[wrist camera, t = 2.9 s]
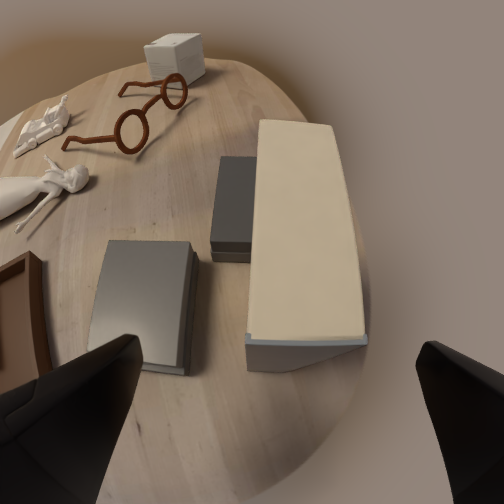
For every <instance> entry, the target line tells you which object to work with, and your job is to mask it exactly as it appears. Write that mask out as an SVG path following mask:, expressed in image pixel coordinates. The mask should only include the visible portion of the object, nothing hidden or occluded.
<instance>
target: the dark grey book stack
mask: <svg viewBox="0 0 504 504" xmlns="http://www.w3.org/2000/svg"><path fill="white" fill-rule="evenodd" d="M256 167H257V157H234V156H221V159H220V166H219V173H218V180H217V187H216V195H215V202H214V210H213V218H212V227H211V235H210V244H211V251H210V252H211V256H212V260H213V261H219V262H251V250H252V233H253V217H254V200H255V183H256Z"/></svg>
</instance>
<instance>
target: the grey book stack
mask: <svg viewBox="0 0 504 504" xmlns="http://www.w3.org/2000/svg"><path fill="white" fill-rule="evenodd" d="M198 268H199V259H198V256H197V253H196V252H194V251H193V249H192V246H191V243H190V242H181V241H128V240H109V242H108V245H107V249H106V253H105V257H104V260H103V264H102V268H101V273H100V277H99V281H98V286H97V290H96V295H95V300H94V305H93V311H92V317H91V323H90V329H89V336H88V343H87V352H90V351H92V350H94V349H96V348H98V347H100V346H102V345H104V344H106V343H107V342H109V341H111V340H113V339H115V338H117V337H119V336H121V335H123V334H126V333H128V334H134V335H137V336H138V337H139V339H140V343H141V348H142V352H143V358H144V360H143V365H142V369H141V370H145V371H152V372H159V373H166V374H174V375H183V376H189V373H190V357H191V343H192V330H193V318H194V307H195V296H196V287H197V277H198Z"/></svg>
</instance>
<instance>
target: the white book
mask: <svg viewBox="0 0 504 504" xmlns="http://www.w3.org/2000/svg"><path fill="white" fill-rule="evenodd" d="M367 344H368V340H367V334H365V321H364V307H363V295H362V285H361V276H360V267H359V259H358V251H357V244H356V237H355V231H354V225H353V219H352V213H351V208H350V202H349V197H348V192H347V187H346V182H345V178H344V173H343V168H342V164H341V160H340V155H339V152H338V147H337V143H336V139H335V136H334V132H333V128H332V127H331V126H329V125H322V124H313V123H305V122H294V121H283V120H268V119H261V120H260V121H259V133H258V150H257V167H256V183H255V200H254V217H253V233H252V250H251V267H250V284H249V301H248V318H247V333H246V334H245V350H246V362H247V371H258V372H288V371H292V370H295V369H298V368H302V367H305V366H308V365H311V364H314V363H318V362H321V361H324V360H327V359H330V358H332V357H335V356H338V355H341V354H344V353H346V352H349V351H352V350H354V349H357V348H360V347H362V346H365V345H367Z"/></svg>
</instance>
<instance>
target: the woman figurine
mask: <svg viewBox="0 0 504 504" xmlns="http://www.w3.org/2000/svg"><path fill="white" fill-rule="evenodd" d="M44 155H45V154H44ZM45 156H46V157H44V156H43V158H45V159H46V160H47V161H48V162H49V163H50V165H51V167H52V170H51V169H47V170H45V171H44V172H49V173H47V174H46V175H44V176H42V177H41V178H39V177H37V176H24V177H2V178H0V220H2V219H3V218H5V217H7V216H9V215H11V214H13V213H15V212H17V211H18V210H20V209H21V208H23V207H25V206H26V205H28V204H30V203H31V202H33V201H34V200H35V199H36V197H37V196H38V194H39V193H40V192H47V193H49V194H48V196H47V197H46V198H45V199H44V200H42V201H41V202H40V203H39V204H38V205H37V207H36V208H35V209H34V210H33V212H32V213H31V214H30V215H29V216H28V217H27V218H26V219H25V220H24V221H22V222H19V223H17V224H16V225H15V226H17V225H19V226H18V228H17V229H16V230H15V231H14V232H15V234H17V233H18V232H20V231H22V229H23V228H24V226H25V225H26V224H27V223H28V222H29V221H30V220H31V219H32V218H33V217H34V216H35V215H36V214H37V213H38V212H39V211H40V210H41V209H42V208H43V207H44V206H45V205H46V204H47V203H48V202H50V201H51V200H52V199H54V198H55V197H56V196H57V197H58V196H59V194H60V193H61V191H62V190H63V188H64V189H66V190H68V191H69V192H71V193H73V192H76V191H79V190H81V189H82V188H83V187H84V186H85V185H86V184H87V182H88V180H89V172H88V168H87V167H85V166H83V165H81V164H77V165H75V167H74V168H70V169H68V170H67V171H62V170H61V169H59V168H58V167H57V166H56V165H55V164H54V163H53V162H52V161H51V160H50V159H49V158H48V156H47V155H45ZM50 171H51V172H50Z"/></svg>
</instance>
